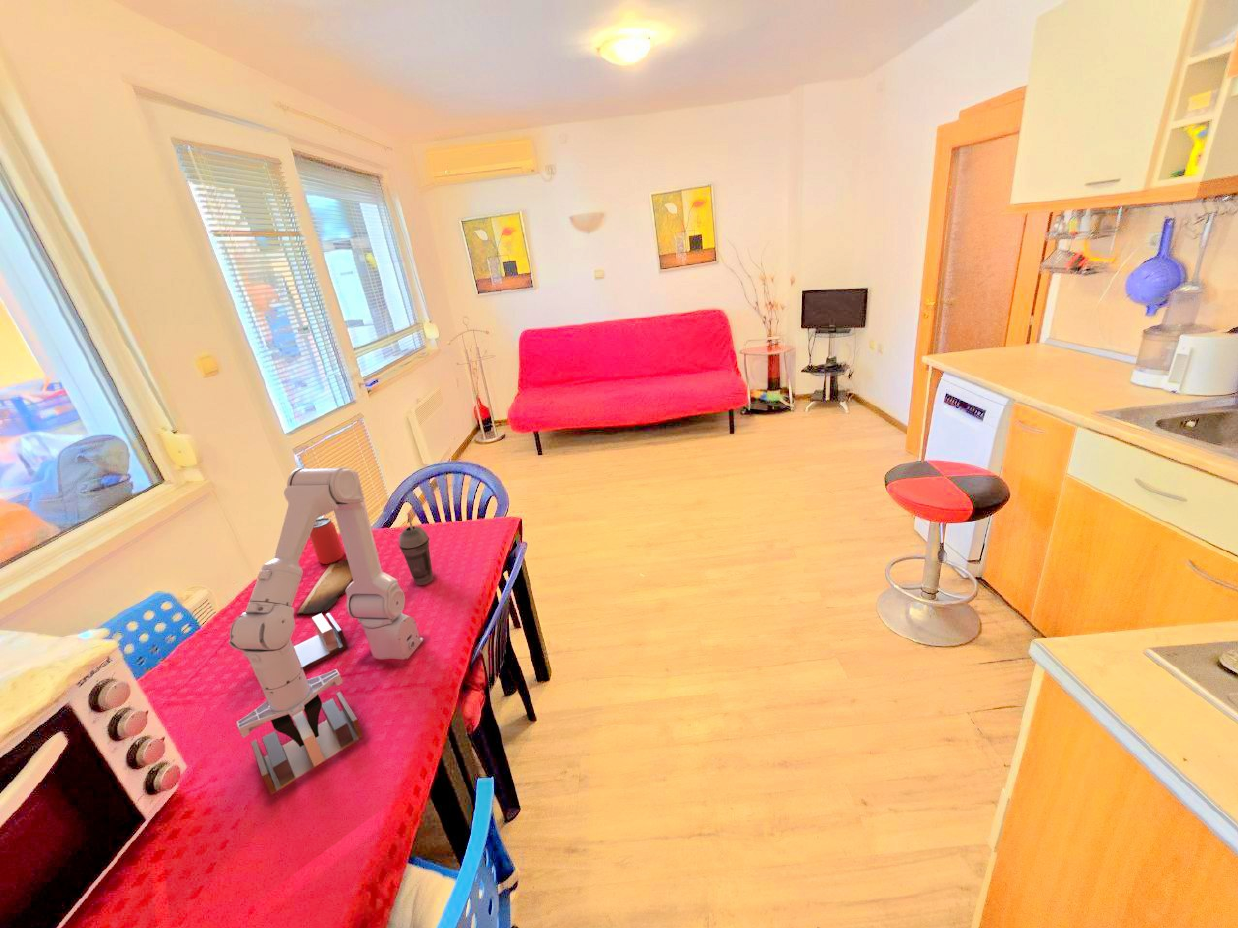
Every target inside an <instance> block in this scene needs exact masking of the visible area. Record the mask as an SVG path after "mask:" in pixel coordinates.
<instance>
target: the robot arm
mask: <svg viewBox="0 0 1238 928" xmlns="http://www.w3.org/2000/svg"><path fill="white" fill-rule="evenodd" d="M362 488H363V487H362V484H361V480H360V476H359V473H358V471H356V470H354V469H353V468H349V467H347V466H340V467H321V468H319V467H318V468H316V467H315V468H306V467H298V468H296V469H294V470H292V472H290V474H289V476H288V478H287V482H286V487H285V489H284V491H283V495H284V498H285V500H286V502H287V509H286V512H285V516H284V521H283V523H282V527H281V531H280V535H279V538H278V542H277V546H276V550H275V553H274V557H273V558H272V559H270V560H269V561H268V562H265V563H264V564H263V565H262V566H261V569H260V571H259V573H258V575H257V579H256V582H255V585H254V587H253V590H252V593H251V595H250V598H249V601H248V603H247V606H246V608H245V611H244V612H242V613H241V614H240V615H239V616H237V617H236V618H235V620H234V621H233V622H232V624H231V627H230V631H229V638H230V639H229V641H228V644H229V646H230V647H231V648H232V649H233V650H236V651H241V652H242V655H243V656H244V658H247V659H248V662H249V664H250V666H251V668H252V671H253V672H254V674H255V677H256V679H257V681H258V685H259V686H260V688H261V690H262V693H263V695H264V697H265V699H266V701H264V702H263V703H262V704H260V705H259V706H258V707H256V708H255V709H253V710H252V711H251V712H250V713H248V714H247V715H245V716H244V717H242V718H241V719H239V720H237V721H236V722H235V723H236V726H237V730H238V731H239V733H240V736H241V738H242V739H244V738H246V737H247V736H249V735H251V733H252V732H251V731H253V730H255V729H257V728H258V727H260V726H263V725H265V724H266V723H268V722H271V724H272V728H273V729H274V731H276V732H278V733H281V734H284V735H285V736H287V737H289V738H291V740H294V741H295V742H296V743H297V744H298V745H299V747H301V746H303V745H304V743H303V740H302V738H301V736H300V734H299V731H298V730H297V727H296V725H295V723H294V720H293V718H292V716H294V715H296V714H298V713H299V712H301V711H303V712H304V715H305V717H306V719H307V721H308V723H309V725H310V727H311V729H312V731H313V733H314V736H315V738H316V737H318V736H319V733H318V724H319V720H320V719H319V718H320V714H321V710H322V704H323V702H322V699H321V698H320V696H319V694H320V693H322V692H324V691H326V690H328V689H330V688H332V687H333V686H336V687H338V686H340V685H341V684H343V683H344V681H343V678H342V676H341V674H340V672H339V671H338V668H335V669H333V670H331V671H328V672H326V673H323V674H320V675H317V676H314V677H311V678H308V679H307V676H306V673H305V671H303V668H302V666H301V663H300V661H299V659H298V656H297V654H296V651H295V649H294V646H295V645H294V644H293V641H292V639H291V638H292V636H293V633H294V632H295V628H296V622H295V617H294V614H295V607H293V605H294V601H295V598H296V596H297V594H298V593H297V592H298V590H299V587H300V584H301V580H302V578H303V575H304V571H303V569H302V567H301V565H300V563H299V561H300V559H301V557H302V554H303V552H304V550H305V548H306V545H307V543H308V541H309V538H310V534H311V532H312V529H313V527H314V525H315V522H316V520H318V519H320V518H321V517H323V516H325V515H328V514H329V513H332V512H333V513H334V516H335V520H336V523H337V527H338V529H339V530H338V531H339V533H340V537H341V541H342V544H343V548H344V552H345V555H346V559H347V560H348V563H349V567H350V570H351V574H352V580H351V581H350V583H349V584H348V586H347V589H346V590H345V596H346V607H345V608H346V611H347V614H348V616H349V617H350V618H352V619H356V620H357V623H358V624H361V625H362V629H363V632H364V634H365V638H366V640H367V643H368V647H369V649H370V652H371V655H372V657H373V658H374V659H376V660H388V659H392V660H394V659H395V660H408V659H409V658H410V657H411V656H412V655H413V654H414V652H415V651H416V650H417V649H418V648H419V646H420V645H421V644H422V643H423V642H424V638H423V637H421V636H420V633H419V629H418V626H417V622H416V620H415V618H414V617H413V616H410V615H407V614H405V613H403V611H404V608H405V605H406V596H405V593H404V591H403V589H402V588H401V587H400V584H399V582H398V579H397V578H395V577H393V576H392V575H390V574H388V573H386V572H384V571H383V568H382V565H381V561H380V557H379V553H378V549H377V545H376V540H375V538H374V533H373V529H372V526H371V521H370V516H369V513H368V510H367V506H366V502H365V497H364V493H363V489H362Z"/></svg>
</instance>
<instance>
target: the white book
mask: <svg viewBox="0 0 1238 928" xmlns="http://www.w3.org/2000/svg"><path fill="white" fill-rule="evenodd" d="M291 718H292V720H293V723H294V725H295V726H296V728H297V730H298V731H299V734H300V736H301V738H302V740H303V743H304V745H305V747H306V750H307V752H308V754H309V756H310V758H311V761H312V763H313V765H314V768H316V767H317V766H319V765H320V763H321V764H323V761H324V762H325V761H326V760H325V759H324V757H323V754H322V752H321V750H320V747H319V745H318V743H317V740H316V738H315V736H314V733H313V731H312V729H311V727H310V725H309V723H308V720H307V717H306V714H305V712H304V710H303V711H301V712H299V713H298V714H296V715H294V716H291ZM318 764H319V765H318ZM315 766H316V767H315Z"/></svg>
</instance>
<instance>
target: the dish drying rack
mask: <svg viewBox="0 0 1238 928" xmlns="http://www.w3.org/2000/svg"><path fill="white" fill-rule="evenodd" d="M311 620H312V623H313V625H314V628H315V630H316V633H317V634H316V635H314V636H312V637H310V638H308V639H306V640H303V641H302V642H300V643H297V644H296V645H293V646H294V649H295V651H296V654H297V656H298V659H299V661H300V663H301V666H302V668H303V671H304V672H305V671H307V670H308V669H310V668H313V667H315V666H317V665H318V664H320V663H322V662H324V661H326V660H328V659H330V658H332V657H334V656H337V654H339V653H342V652H343V651H346V650H348V649H349V646H348V643H347V640H346V637H345V634H344V631H343V629H342V628H341V626H340V625H339V623H337V621H336V620H335V618H334V617H333V615H332V614H331V612H327V613H326V614H325V616H324V615H323V612H321V613H318V614H316V615H314V616H311Z"/></svg>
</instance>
